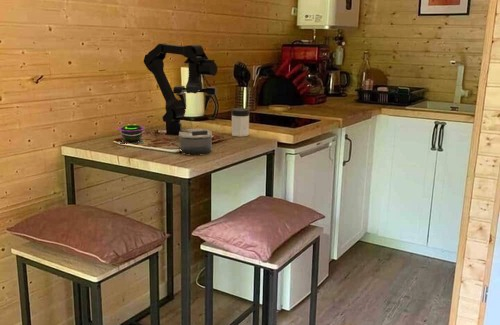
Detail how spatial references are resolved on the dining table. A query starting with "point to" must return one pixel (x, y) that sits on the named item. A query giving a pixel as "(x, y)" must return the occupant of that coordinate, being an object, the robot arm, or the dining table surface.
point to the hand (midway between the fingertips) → (195, 109)
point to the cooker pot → (196, 145)
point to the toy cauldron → (132, 134)
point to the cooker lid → (195, 133)
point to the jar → (240, 122)
